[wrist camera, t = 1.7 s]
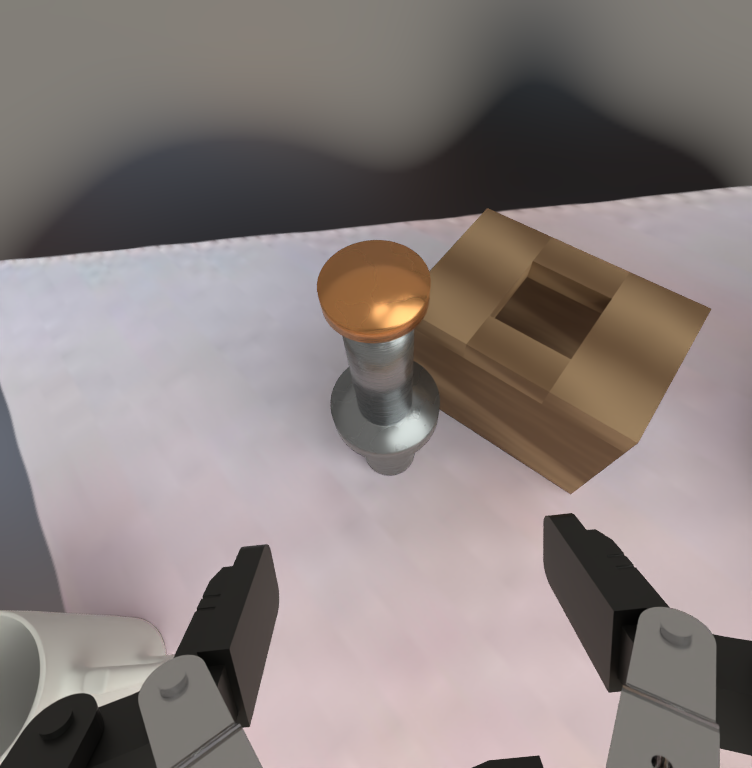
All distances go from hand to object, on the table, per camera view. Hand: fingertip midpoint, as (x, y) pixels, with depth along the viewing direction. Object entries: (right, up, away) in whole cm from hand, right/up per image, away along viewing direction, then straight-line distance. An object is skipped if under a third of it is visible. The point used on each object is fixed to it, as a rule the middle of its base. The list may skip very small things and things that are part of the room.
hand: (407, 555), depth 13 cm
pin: (0, 0, +23) cm, 23 cm away
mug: (-16, -14, +17) cm, 28 cm away
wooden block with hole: (+11, +5, +25) cm, 28 cm away
